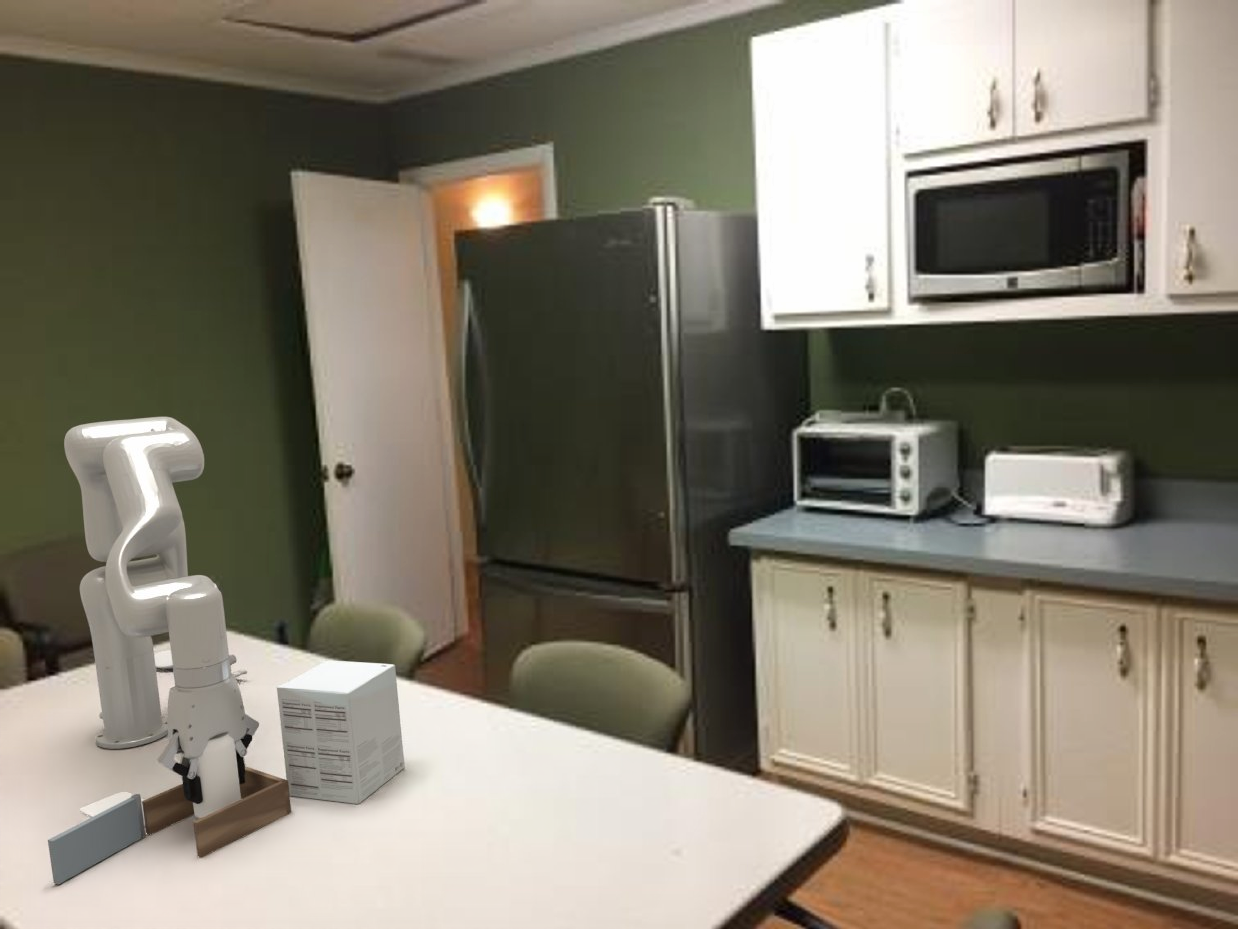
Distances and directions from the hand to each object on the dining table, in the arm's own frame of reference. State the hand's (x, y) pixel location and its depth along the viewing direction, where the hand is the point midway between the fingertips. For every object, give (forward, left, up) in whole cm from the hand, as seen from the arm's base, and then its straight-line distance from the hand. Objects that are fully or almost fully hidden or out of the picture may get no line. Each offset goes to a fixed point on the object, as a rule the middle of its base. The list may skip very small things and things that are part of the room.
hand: (216, 790), depth 149 cm
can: (0, 0, -3) cm, 3 cm away
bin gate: (-5, -15, -5) cm, 16 cm away
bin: (0, -1, -5) cm, 5 cm away
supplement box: (+6, +18, -5) cm, 20 cm away
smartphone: (-16, -5, -6) cm, 18 cm away
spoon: (-67, +38, -5) cm, 77 cm away
